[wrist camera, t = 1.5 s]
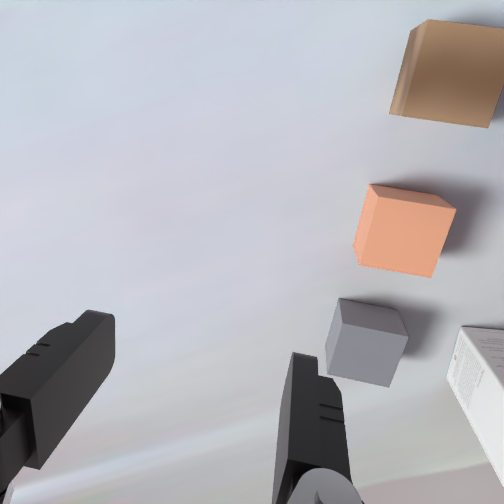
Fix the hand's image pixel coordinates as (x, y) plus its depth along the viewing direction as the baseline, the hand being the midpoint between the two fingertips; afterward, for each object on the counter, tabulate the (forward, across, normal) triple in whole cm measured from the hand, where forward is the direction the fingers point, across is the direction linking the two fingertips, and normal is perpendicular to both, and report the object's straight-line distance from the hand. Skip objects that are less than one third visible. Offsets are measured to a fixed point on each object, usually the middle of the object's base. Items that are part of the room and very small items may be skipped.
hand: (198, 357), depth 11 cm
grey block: (+20, -10, +10) cm, 24 cm away
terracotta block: (+20, -10, 0) cm, 22 cm away
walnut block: (+20, -10, -10) cm, 24 cm away
